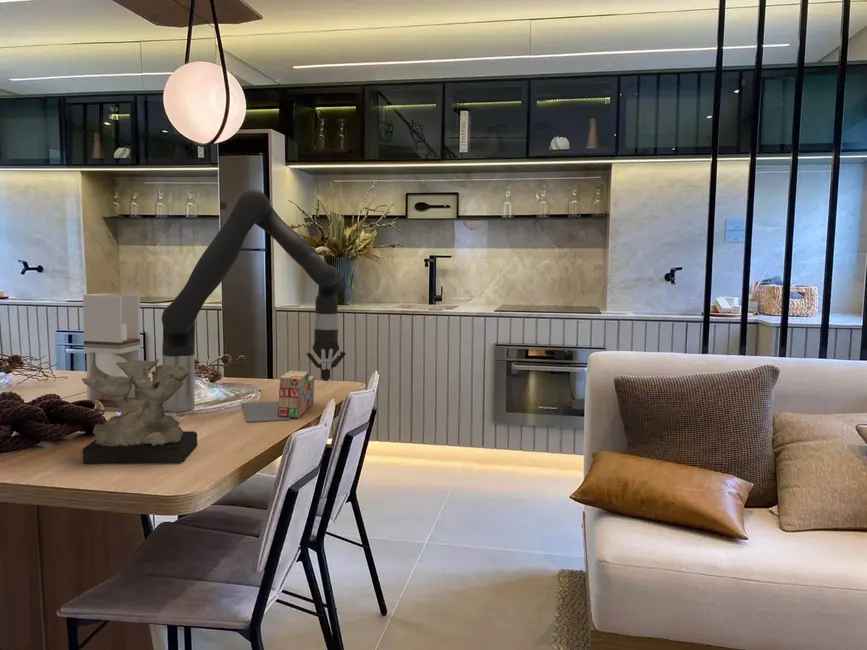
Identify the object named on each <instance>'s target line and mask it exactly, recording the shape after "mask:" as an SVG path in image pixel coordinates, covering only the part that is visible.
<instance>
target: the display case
mask: <svg viewBox="0 0 867 650" xmlns="http://www.w3.org/2000/svg"><path fill="white" fill-rule="evenodd" d="M82 298H83V299H82V303H83V304H82V307H83V308H82V310H83V313H82V315H83V318H82V319H83V353H86V378H89V377H92V376H95V375H96V376H102V377H103V378H104V379H105V380H107V381H108V380H110V379H109V378H108V376H111V375H113V376H122V377H123V376H124V377H128V376H127V375H126V374H125V372H124V371H122V370H121V369H120V368H119V366H118V365H116V363H118V362H121V363H122V362H131V361H138V360H141V310H140V309H141V302H140V301H141V299H140V298H141V295H140V294H126V293H125V294H121V293H120V294H119V293H93V294H83V295H82ZM86 395H87V396H86V397H87V398H86V399H87V400H98V401H100V402H101V403H102V404H103V406H104V409H105V411H104V412H121V409H120V408H119V407H118V405H117V404H116V403H115V402H114V401H113V400H111V399H110V398H108V397H106V396H104V395H102V394H101V393H99V392H97V391H96V390H94V389H93V388H91V387H89V386H88V385H86ZM127 397H128V398H130V399H135V386H134V385H133V383H132V388H131V391H130V392H129V394H128V395H127ZM87 400H86V401H87Z"/></svg>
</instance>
